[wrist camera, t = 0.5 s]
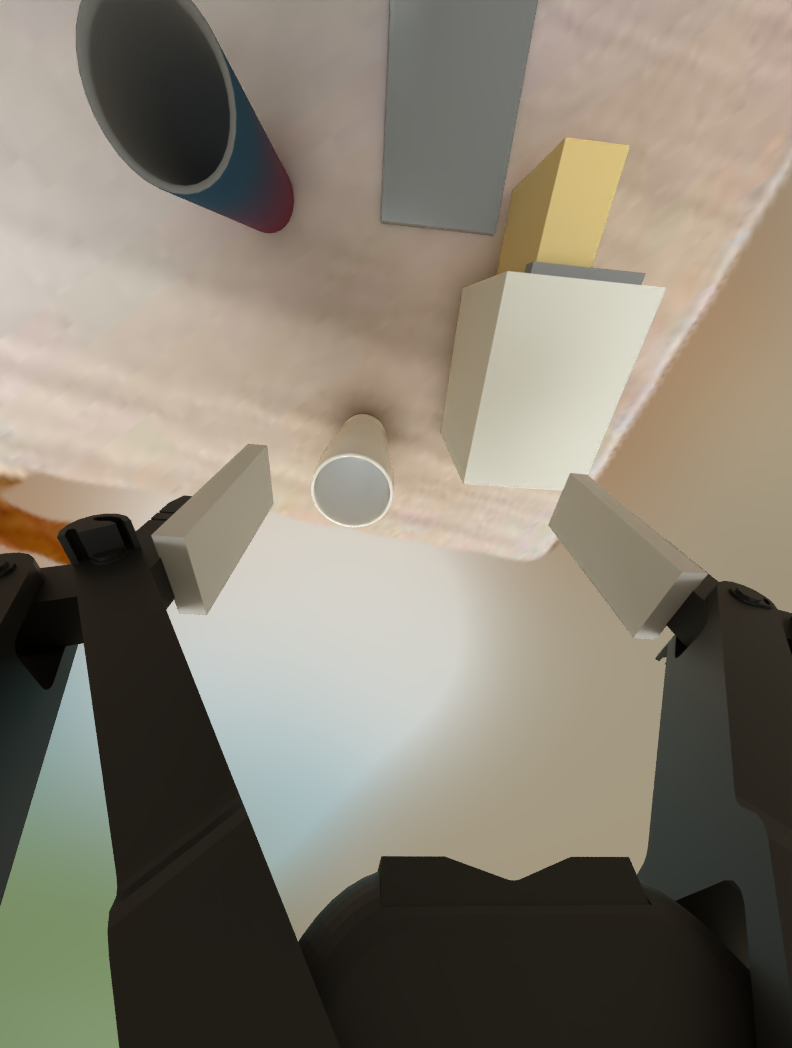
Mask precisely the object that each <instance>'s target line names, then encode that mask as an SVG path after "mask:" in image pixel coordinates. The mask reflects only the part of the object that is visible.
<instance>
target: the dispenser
mask: <svg viewBox="0 0 792 1048" xmlns="http://www.w3.org/2000/svg"><path fill="white" fill-rule="evenodd" d="M645 274H646V273H637V272H627V271H618V270H609V269H599V268H590V267H581V266H571V265H562V264H553V263H543V262H534V261H533V262H531V263H528V264H526V268H525V273H521V272H511V271H506V272H504V273H501V274H498V275H496V276H493V277H490V278H488V279H485V280H482V281H480V282H477V283H474V284H472V285H469V286H466V287H464V288H463V289H462V296H461V302H460V309H459V315H458V322H457V328H456V335H455V341H454V348H453V355H452V361H451V368H450V374H449V381H448V387H447V394H446V400H445V407H444V413H443V420H442V427H441V435H442V437H443V440H444V442H445V444H446V446H447V449H448V451H449V453H450V455H451V458H452V460H453V462H454V464H455V466H456V469H457V471H458V473H459V475H460V478H461V480H462V482H463V484H470V485H485V486H501V487H516V488H531V489H547V490H562V491H563V489H564V486H565V484H566V481H567V479H568V477H569V474H570V473H576V474H587V475H588V473H589V471H590V468H591V466H592V463H593V461H594V459H595V456H596V454H597V451H598V449H599V447H600V444H601V442H602V440H603V437H604V435H605V432H606V430H607V428H608V425H609V423H610V421H611V418H612V416H613V413H614V411H615V409H616V406H617V404H618V401H619V399H620V397H621V394H622V392H623V390H624V387H625V385H626V382H627V380H628V378H629V375H630V373H631V370H632V368H633V366H634V363H635V361H636V359H637V356H638V354H639V351H640V349H641V347H642V344H643V342H644V340H645V337H646V335H647V332H648V330H649V328H650V325H651V323H652V320H653V318H654V316H655V313H656V311H657V309H658V306H659V304H660V301H661V299H662V297H663V294H664V292H665V289H666V288H664V287H655V286H645V285H641V284H642V281H643V279H644V276H645Z"/></svg>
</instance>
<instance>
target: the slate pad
mask: <svg viewBox="0 0 792 1048" xmlns="http://www.w3.org/2000/svg"><path fill="white" fill-rule="evenodd" d="M537 4H538V0H390V24H389V48H388V71H387V95H386V119H385V143H384V166H383V190H382V214H381V223H386V224H395V225H404V226H413V227H422V228H431V229H440V230H449V231H458V232H467V233H476V234H485V235H494V234H496V228H497V223H498V217H499V212H500V206H501V201H502V195H503V190H504V184H505V179H506V173H507V168H508V162H509V157H510V151H511V146H512V140H513V135H514V130H515V124H516V119H517V113H518V108H519V102H520V97H521V91H522V86H523V80H524V75H525V69H526V64H527V58H528V53H529V47H530V42H531V37H532V31H533V26H534V20H535V15H536V9H537Z"/></svg>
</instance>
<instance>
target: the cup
mask: <svg viewBox="0 0 792 1048" xmlns="http://www.w3.org/2000/svg"><path fill="white" fill-rule="evenodd" d="M76 52H77V59H78V66H79V72H80V76H81V79H82V83H83V87H84V90H85V94H86V97H87V99H88V102H89V104H90V106H91V109H92V111H93V114H94V116H95V118H96V120H97V122H98V124H99V125H100V127H101V129H102V131H103V133H104V135H105V136H106V138H107V139H108V141H109V142H110V144H111V145H112V146H113V148H114V149H115V151H116V152H117V153H118V155H119V156H120V157H121V158H122V159H123V160H124V161H125V162H126V163H127V165H128V166H129V167H130V168H131V169H132V170H134V171H135V172H136V173H137V174H138V175H140V176H141V177H142V178H143V179H144V180H146V181H147V182H149V183H151V184H152V185H154V186H156V187H158V188H159V189H162V190H164V191H166V192H169V193H171V194H173V195H176V196H178V197H181V198H183V199H185V200H188V201H190V202H192V203H195V204H197V205H200V206H202V207H204V208H207V209H209V210H211V211H214V212H216V213H218V214H221V215H223V216H226V217H228V218H230V219H233V220H235V221H237V222H240V223H242V224H244V225H247V226H249V227H252V228H254V229H256V230H259V231H262V232H265V233H274V232H277V231H279V230H281V229H282V228H283V227H285V225H286V224H287V223H288V221H289V219H290V217H291V215H292V211H293V203H294V199H293V190H292V185H291V182H290V180H289V177H288V175H287V173H286V171H285V169H284V167H283V166H282V164H281V162H280V160H279V158H278V156H277V154H276V152H275V150H274V148H273V146H272V145H271V143H270V141H269V139H268V137H267V135H266V133H265V131H264V129H263V127H262V125H261V124H260V122H259V120H258V118H257V116H256V114H255V112H254V110H253V108H252V106H251V104H250V102H249V101H248V99H247V97H246V95H245V93H244V91H243V89H242V87H241V85H240V83H239V81H238V80H237V78H236V76H235V74H234V72H233V70H232V68H231V66H230V64H229V62H228V60H227V59H226V57H225V55H224V53H223V51H222V49H221V47H220V45H219V43H218V41H217V39H216V38H215V36H214V34H213V32H212V30H211V28H210V26H209V24H208V23H207V21H206V20H205V18H204V17H203V16H202V14H201V13H200V11H199V10H198V8H197V7H196V6H195V4H194V3H193V2H192V1H191V0H82V1H81V4H80V6H79V12H78V18H77V24H76Z"/></svg>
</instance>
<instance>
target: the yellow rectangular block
mask: <svg viewBox="0 0 792 1048" xmlns="http://www.w3.org/2000/svg"><path fill="white" fill-rule="evenodd" d="M629 147H630V146H629V145H622V144H614V143H607V142H599V141H591V140H584V139H576V138H568V137H566V138H565V139H564V140H563V141H562V142H561V143H560V144H559V145H558V146H557V147H556V148H555V149H554V150H553V151H552V152H551V153H550V154H549V155H548V156H547V157H546V158H545V159H544V160H543V161H542V162H541V163H540V164H539V165H538V166H537V167H536V168H535V169H534V170H533V171H532V172H531V173H530V174H529V175H528V176H527V177H526V178H525V179H524V180H523V181H522V182H521V183H520V184H519V185H518V186H517V187H516V188H515V189H514V190H513V192H512V197H511V202H510V207H509V212H508V218H507V223H506V228H505V233H504V238H503V243H502V249H501V254H500V259H499V264H498V269H497V274H496V275H498V274H501V273H504V272H506V271H511V272H521V273H525V268H526V264H528V263H531V262H533V261H534V262H543V263H553V264H562V265H571V266H581V267H590V268H592V265H593V262H594V259H595V256H596V252H597V249H598V246H599V243H600V240H601V237H602V233H603V230H604V227H605V224H606V221H607V217H608V214H609V211H610V208H611V205H612V201H613V198H614V195H615V192H616V189H617V186H618V182H619V179H620V176H621V173H622V170H623V166H624V163H625V160H626V157H627V154H628V150H629Z"/></svg>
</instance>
